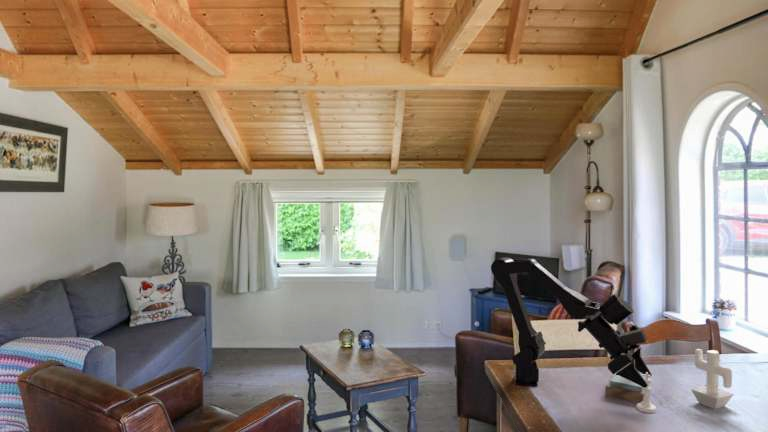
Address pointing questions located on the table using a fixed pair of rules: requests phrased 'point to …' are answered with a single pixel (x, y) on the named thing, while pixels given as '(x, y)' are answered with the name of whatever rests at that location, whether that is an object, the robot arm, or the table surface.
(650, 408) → the chess piece
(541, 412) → the table surface
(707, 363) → the figurine
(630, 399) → the stepped pedestal base
